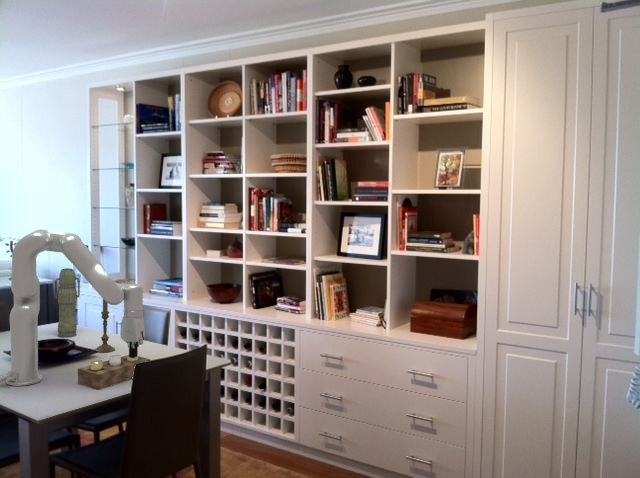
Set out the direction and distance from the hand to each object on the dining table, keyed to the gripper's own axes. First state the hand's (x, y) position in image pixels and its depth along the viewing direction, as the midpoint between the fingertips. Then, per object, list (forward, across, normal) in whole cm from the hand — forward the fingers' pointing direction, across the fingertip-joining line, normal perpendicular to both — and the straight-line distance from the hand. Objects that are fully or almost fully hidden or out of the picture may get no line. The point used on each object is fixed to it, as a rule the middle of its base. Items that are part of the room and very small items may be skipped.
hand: (133, 356), depth 240 cm
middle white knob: (+3, 0, -9) cm, 10 cm away
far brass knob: (+5, 0, 0) cm, 6 cm away
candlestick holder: (+7, -37, +16) cm, 41 cm away
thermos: (+7, -75, +23) cm, 79 cm away
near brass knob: (+3, 0, -18) cm, 19 cm away
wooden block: (+7, 0, -9) cm, 12 cm away
